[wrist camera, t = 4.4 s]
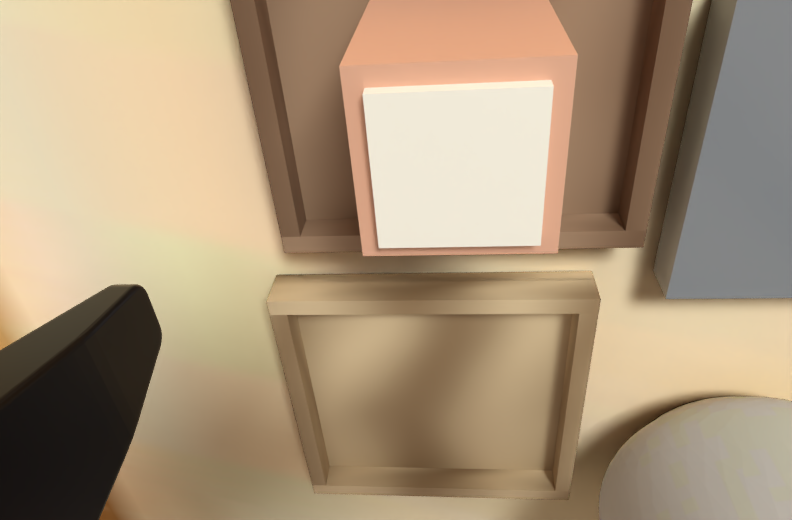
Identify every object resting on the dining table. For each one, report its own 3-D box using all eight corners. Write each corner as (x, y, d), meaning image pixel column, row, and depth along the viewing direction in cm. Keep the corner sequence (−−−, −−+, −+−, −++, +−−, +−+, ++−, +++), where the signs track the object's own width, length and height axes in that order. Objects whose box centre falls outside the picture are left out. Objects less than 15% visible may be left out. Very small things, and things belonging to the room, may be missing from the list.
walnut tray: (709, -214, 13) (735, -219, 12) (631, 220, 19) (643, 247, 18) (215, -171, 14) (193, -170, 13) (294, 227, 21) (284, 252, 19)
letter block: (536, -24, 15) (580, 60, 10) (527, 128, 17) (559, 262, 12) (375, -14, 15) (336, 72, 10) (388, 133, 18) (361, 264, 13)
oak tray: (591, 271, 21) (600, 299, 20) (563, 469, 27) (568, 499, 26) (276, 274, 22) (266, 301, 21) (320, 464, 28) (314, 493, 27)
